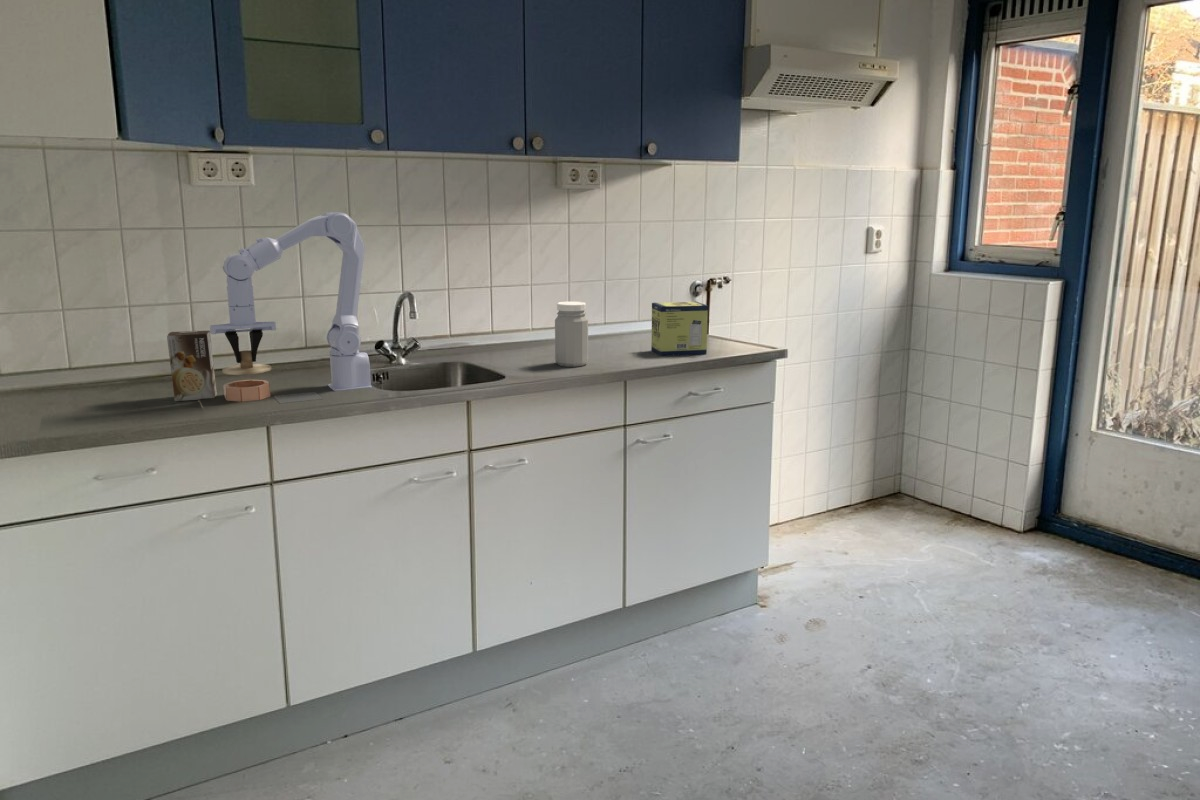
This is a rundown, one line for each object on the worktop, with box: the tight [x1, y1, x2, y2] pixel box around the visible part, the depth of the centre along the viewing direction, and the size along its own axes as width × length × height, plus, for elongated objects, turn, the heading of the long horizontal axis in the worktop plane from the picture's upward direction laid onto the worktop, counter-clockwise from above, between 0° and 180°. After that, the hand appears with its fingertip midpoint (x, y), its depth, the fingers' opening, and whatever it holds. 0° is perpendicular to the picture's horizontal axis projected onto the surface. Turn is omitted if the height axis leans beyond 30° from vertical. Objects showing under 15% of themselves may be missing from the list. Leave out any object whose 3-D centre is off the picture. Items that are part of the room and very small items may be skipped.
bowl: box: [223, 379, 271, 403], centre depth 217 cm, size 10×10×4 cm
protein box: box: [650, 300, 709, 357], centre depth 281 cm, size 10×16×16 cm
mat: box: [272, 391, 324, 405], centre depth 217 cm, size 10×9×1 cm
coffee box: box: [166, 330, 218, 402], centre depth 216 cm, size 9×6×16 cm
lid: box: [221, 349, 272, 376], centre depth 215 cm, size 11×11×5 cm
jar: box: [554, 300, 589, 368], centre depth 260 cm, size 10×10×18 cm
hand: (246, 361), depth 216 cm, fingers closed on lid, 3 cm apart
